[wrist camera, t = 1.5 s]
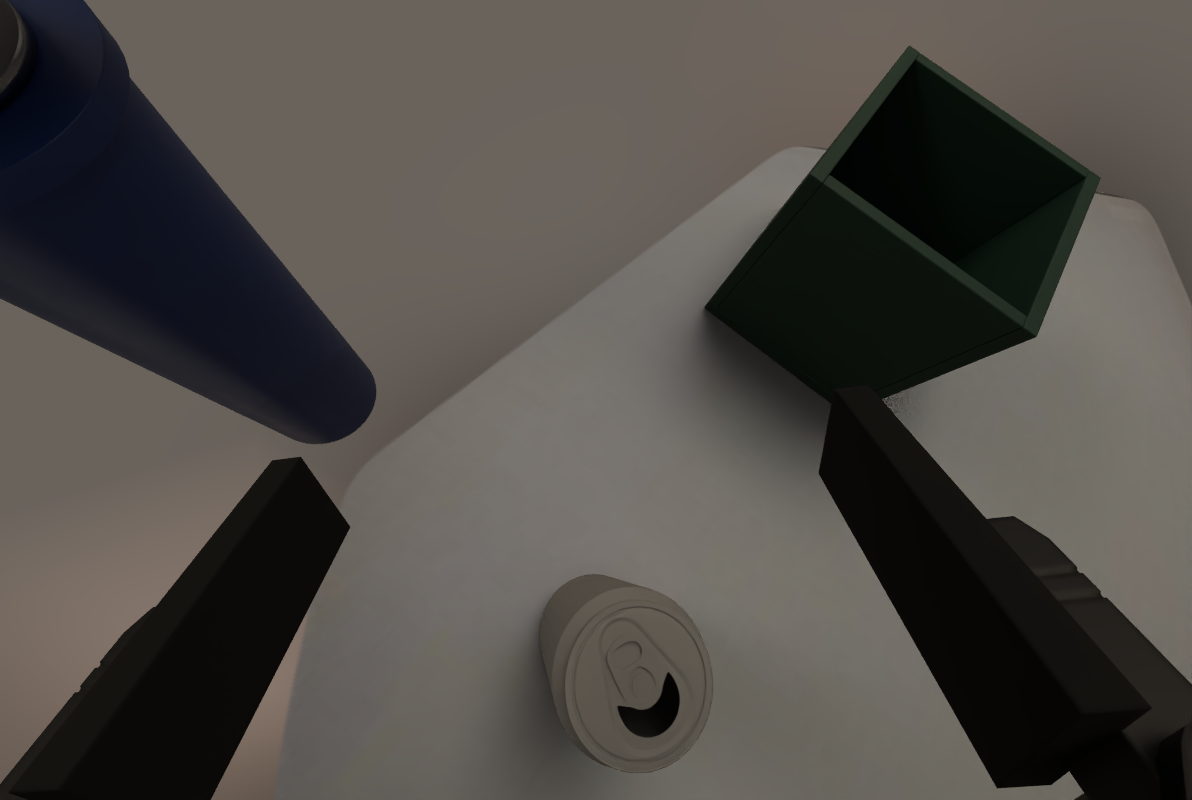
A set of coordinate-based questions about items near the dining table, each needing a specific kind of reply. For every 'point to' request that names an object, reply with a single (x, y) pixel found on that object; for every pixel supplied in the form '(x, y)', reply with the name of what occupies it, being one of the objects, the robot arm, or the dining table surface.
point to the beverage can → (625, 672)
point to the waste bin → (911, 241)
